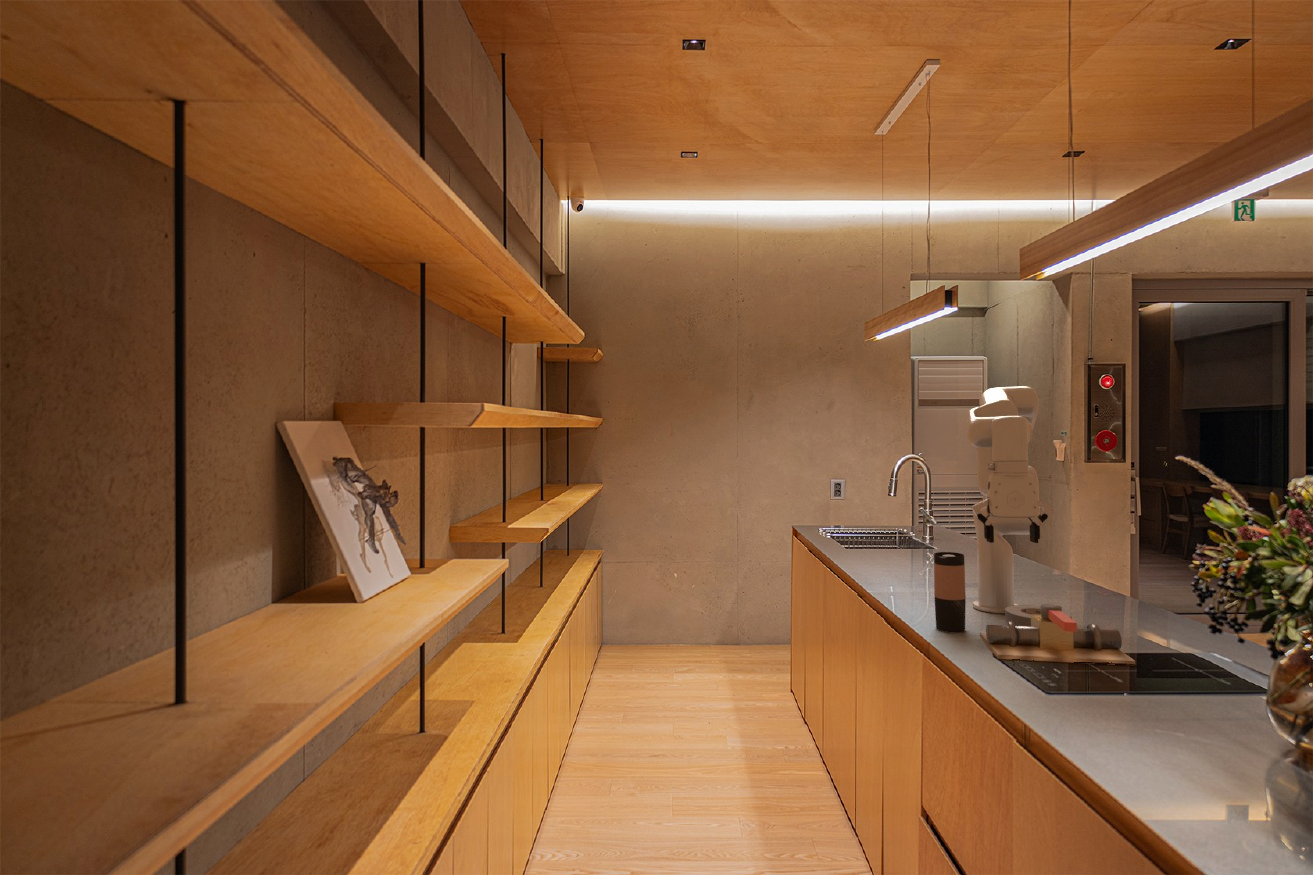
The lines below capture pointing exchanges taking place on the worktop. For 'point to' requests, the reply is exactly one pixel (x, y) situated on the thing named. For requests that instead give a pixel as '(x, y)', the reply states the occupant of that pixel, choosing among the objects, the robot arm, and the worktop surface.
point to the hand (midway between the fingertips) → (1012, 542)
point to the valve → (1053, 636)
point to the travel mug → (949, 591)
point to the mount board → (1057, 653)
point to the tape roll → (1023, 614)
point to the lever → (1058, 617)
